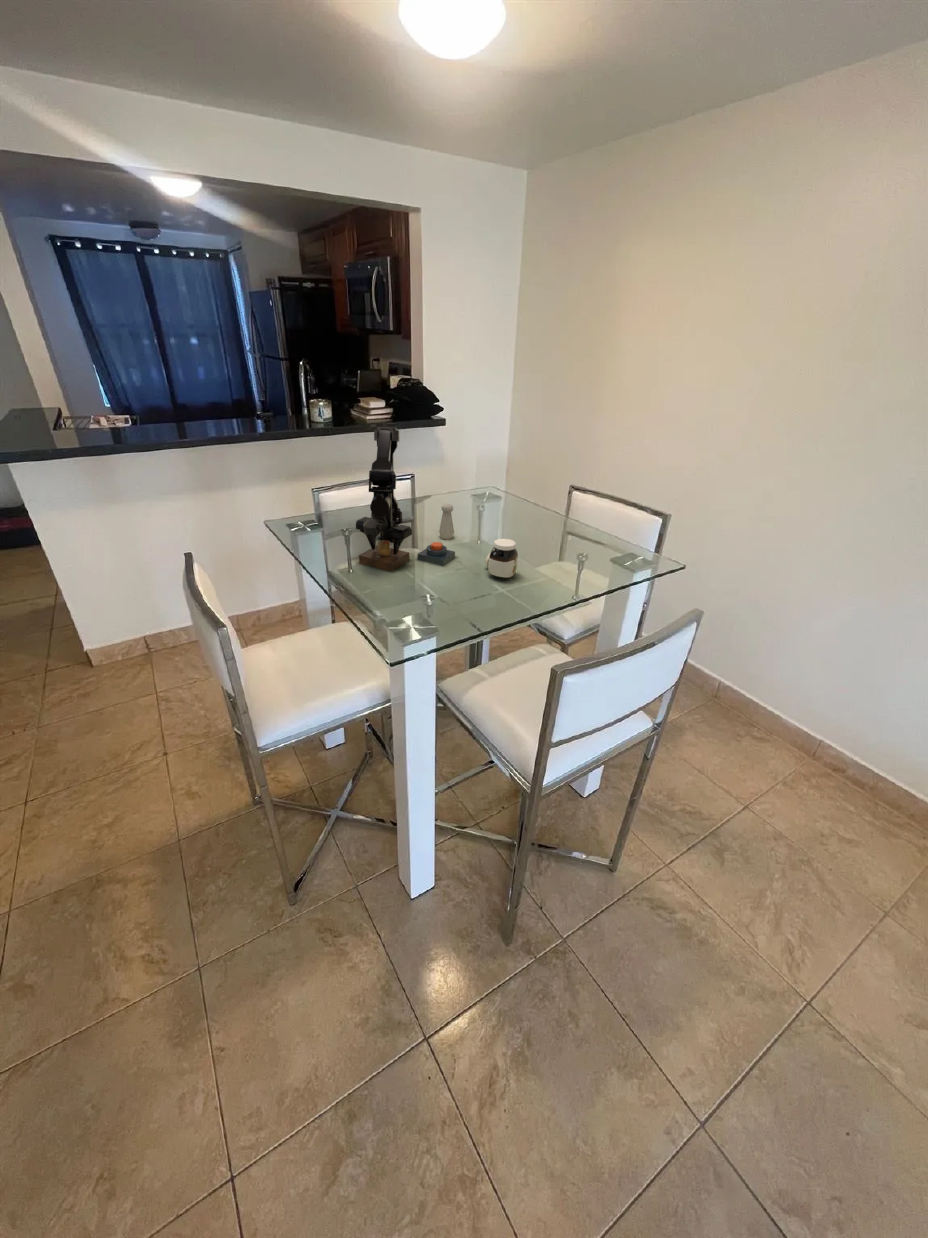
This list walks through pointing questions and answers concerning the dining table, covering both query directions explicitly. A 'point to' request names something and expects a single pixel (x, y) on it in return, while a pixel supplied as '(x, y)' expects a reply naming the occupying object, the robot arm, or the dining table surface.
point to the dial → (384, 548)
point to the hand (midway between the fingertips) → (384, 552)
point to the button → (436, 546)
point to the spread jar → (502, 559)
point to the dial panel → (384, 559)
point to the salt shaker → (446, 522)
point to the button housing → (436, 555)
